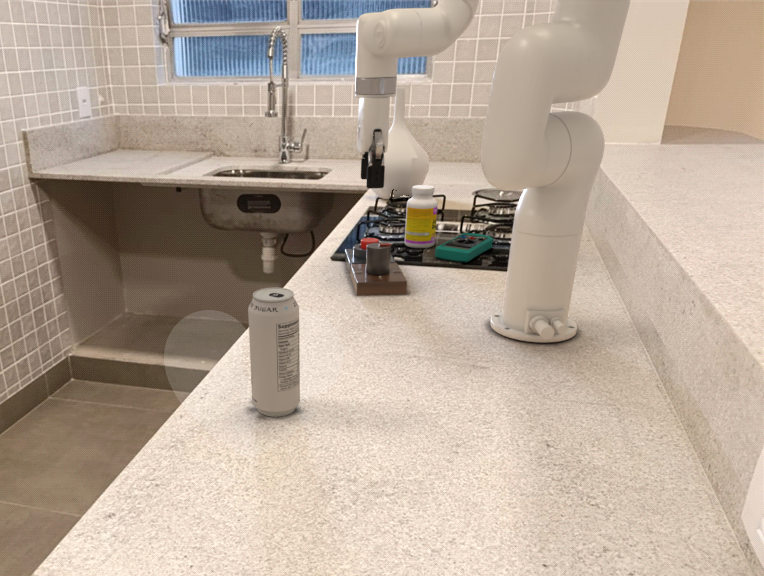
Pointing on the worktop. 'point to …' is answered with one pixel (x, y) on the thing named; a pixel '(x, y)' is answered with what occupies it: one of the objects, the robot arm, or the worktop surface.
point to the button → (368, 242)
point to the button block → (358, 256)
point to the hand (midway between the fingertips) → (371, 183)
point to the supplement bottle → (421, 217)
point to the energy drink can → (274, 351)
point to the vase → (402, 156)
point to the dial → (378, 258)
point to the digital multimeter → (464, 247)
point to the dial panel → (378, 281)
